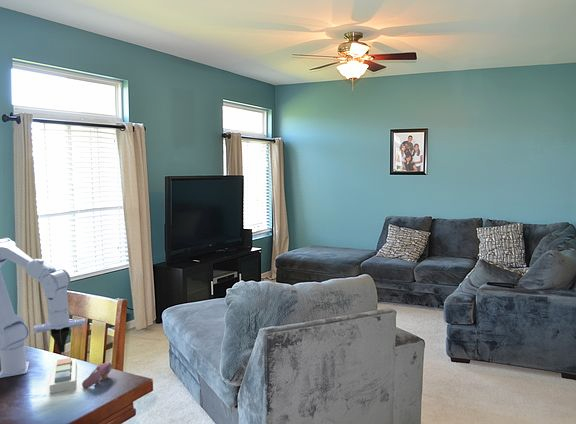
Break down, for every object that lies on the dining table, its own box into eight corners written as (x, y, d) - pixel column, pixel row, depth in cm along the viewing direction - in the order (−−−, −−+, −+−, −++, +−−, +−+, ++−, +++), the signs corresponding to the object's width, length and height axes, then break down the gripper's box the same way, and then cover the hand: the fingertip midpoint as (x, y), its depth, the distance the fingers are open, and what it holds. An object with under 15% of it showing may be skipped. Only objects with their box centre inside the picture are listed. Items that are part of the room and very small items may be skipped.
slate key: (56, 379, 153) (55, 373, 152) (70, 376, 154) (69, 370, 154) (55, 384, 149) (55, 378, 149) (70, 382, 150) (69, 375, 150)
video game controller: (92, 394, 149) (100, 375, 148) (79, 387, 150) (87, 368, 148) (110, 379, 159) (117, 361, 157) (98, 372, 159) (105, 354, 158)
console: (53, 369, 164) (53, 362, 163) (76, 365, 166) (76, 358, 166) (50, 393, 147) (49, 385, 147) (75, 388, 150) (75, 380, 149)
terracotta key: (58, 365, 163) (57, 359, 162) (71, 363, 164) (70, 357, 164) (57, 370, 159) (56, 364, 159) (71, 368, 160) (70, 362, 160)
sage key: (57, 372, 158) (56, 366, 157) (70, 369, 159) (70, 364, 159) (56, 377, 154) (56, 371, 154) (70, 374, 155) (70, 368, 155)
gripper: (31, 316, 148) (35, 360, 149) (83, 309, 153) (86, 351, 155) (33, 310, 154) (37, 351, 156) (83, 303, 160) (86, 343, 161)
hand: (62, 351), depth 156 cm, fingers closed
